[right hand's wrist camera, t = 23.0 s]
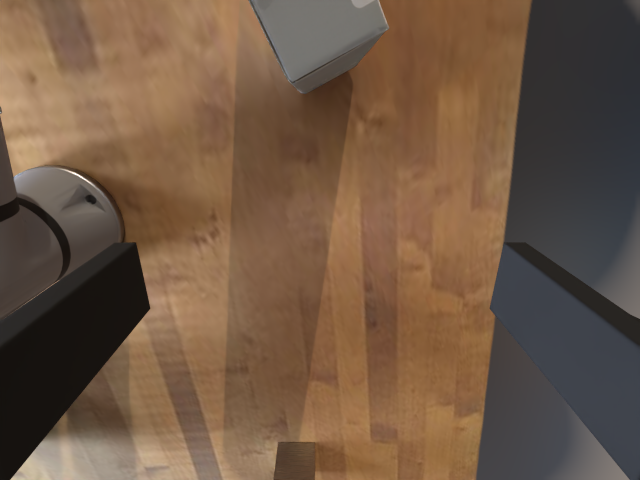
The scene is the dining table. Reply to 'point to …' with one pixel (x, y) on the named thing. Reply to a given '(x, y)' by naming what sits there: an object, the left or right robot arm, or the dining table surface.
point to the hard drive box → (319, 36)
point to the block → (295, 461)
